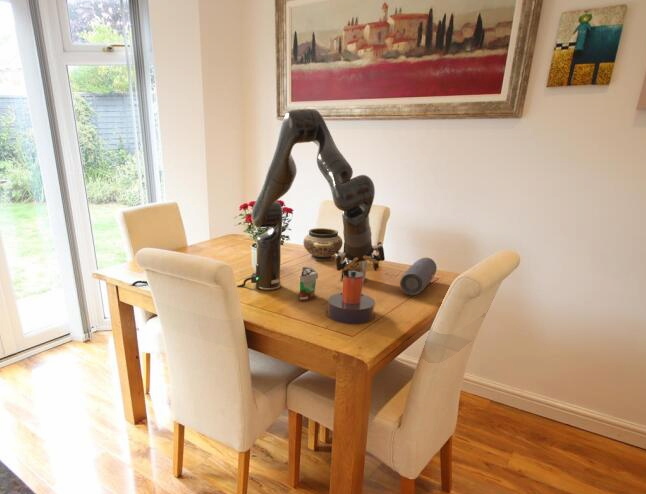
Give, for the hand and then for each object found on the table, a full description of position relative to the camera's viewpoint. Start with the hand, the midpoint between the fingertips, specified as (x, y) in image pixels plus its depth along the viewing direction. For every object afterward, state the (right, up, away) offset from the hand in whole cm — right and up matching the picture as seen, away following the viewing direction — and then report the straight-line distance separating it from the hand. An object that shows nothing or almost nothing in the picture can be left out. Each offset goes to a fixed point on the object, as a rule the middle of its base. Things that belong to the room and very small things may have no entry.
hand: (360, 271), depth 143 cm
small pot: (0, -9, +11) cm, 14 cm away
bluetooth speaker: (+31, -4, +34) cm, 46 cm away
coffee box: (+9, 0, +45) cm, 46 cm away
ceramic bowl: (+1, +12, +74) cm, 75 cm away
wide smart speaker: (0, -13, +13) cm, 19 cm away
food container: (-12, -7, +29) cm, 32 cm away
